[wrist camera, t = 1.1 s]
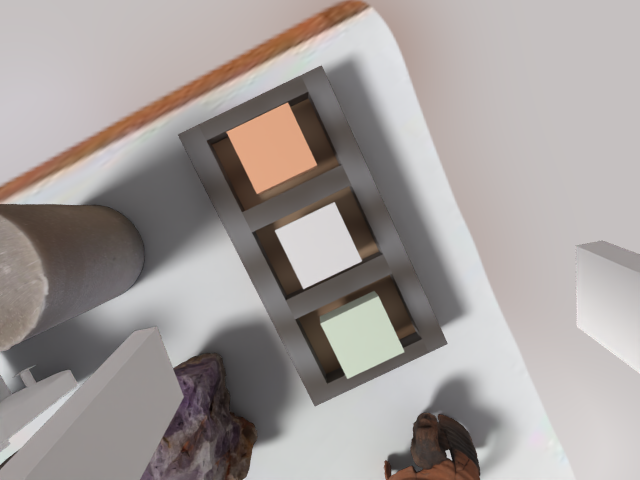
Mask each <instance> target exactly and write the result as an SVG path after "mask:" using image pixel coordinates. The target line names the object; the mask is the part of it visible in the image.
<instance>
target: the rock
mask: <svg viewBox="0 0 640 480" xmlns="http://www.w3.org/2000/svg"><path fill="white" fill-rule="evenodd" d="M173 370H174V372H175V375H176V378H177V380H178V383H179V385H180V388H181V391H182V393H183V396H184V398H183V399H182V401H181V403H180V405H179V407H178V409H177V411H176V413H175V415H174V416H173V418H172V420H171V422H170V424H169V426H168V428H167V430H166V431H165V433H164V435H163V437H162V439H161V441H160V443H159V445H158V447H157V448H156V450H155V452H154V454H153V456H152V458H151V460H150V462H149V463H148V465H147V467H146V469H145V471H144V473H143V475H142V477H141V479H140V480H243V479H244V478H245V477H246V476H247V474H248V471H249V467H250V460H251V455H252V448H253V444H254V443H255V442H256V440H257V430H256V429H255V426H254V424H253V423H250V422H248V421H247V420H246V419H244V418H243V417H237V416H235V414H234V413H232V412H229V403H230V394H229V392H228V390H227V388H226V387H225V377H226V372H225V368H224V366H223V361H222V358H221V356H220V355H218V354H217V353H213V354H210V353H205V354H202V355H200V356H194V357H192V358H190V359H189V360H187V361H186V362H183V363H181V364H180V365H178V366H176V367H175V368H173Z"/></svg>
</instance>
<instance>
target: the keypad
mask: <svg viewBox="0 0 640 480" xmlns="http://www.w3.org/2000/svg"><path fill="white" fill-rule="evenodd" d="M286 103H288V104H289V106H290V108H291V110H292V112H293V114H294V116H295V119H296V121H297V123H298V125H299V127H300V129H301V131H302V134H303V136H304V138H305V140H306V142H307V144H308V146H309V149H310V151H311V153H312V155H313V157H314V159H315V161H316V164H317V168H315V169H313V170H311V171H309V172H307V173H305V174H303V175H300V176H298V177H296V178H294V179H292V180H290V181H288V182H286V183H284V184H282V185H280V186H277V187H275V188H273V189H271V190H269V191H267V192H265V193H263V194H261V195H259V194H257V193H256V191H255V189H254V187H253V185H252V183H251V181H250V179H249V177H248V175H247V173H246V171H245V169H244V167H243V165H242V163H241V161H240V159H239V157H238V155H237V153H236V150H235V148H234V146H233V144H232V142H231V140H230V138H229V136H228V134H227V131H229V130H232V129H234V128H236V127H238V126H240V125H242V124H244V123H246V122H248V121H250V120H252V119H254V118H256V117H259V116H261V115H263V114H265V113H267V112H269V111H271V110H273V109H275V108H277V107H279V106H281V105H283V104H286ZM178 136H179V138H180V140H181V142H182V144H183V146H184V148H185V150H186V152H187V154H188V156H189V158H190V160H191V162H192V164H193V166H194V168H195V170H196V172H197V174H198V176H199V178H200V180H201V182H202V184H203V186H204V188H205V190H206V192H207V194H208V196H209V198H210V200H211V201H212V203H213V205H214V207H215V209H216V211H217V213H218V215H219V217H220V219H221V221H222V223H223V225H224V227H225V229H226V231H227V233H228V235H229V237H230V239H231V241H232V243H233V245H234V247H235V249H236V251H237V253H238V255H239V257H240V259H241V261H242V263H243V265H244V267H245V269H246V271H247V273H248V275H249V277H250V279H251V281H252V283H253V285H254V287H255V289H256V291H257V293H258V295H259V297H260V299H261V301H262V303H263V305H264V307H265V309H266V310H267V312H268V314H269V316H270V318H271V320H272V322H273V324H274V326H275V328H276V330H277V332H278V334H279V336H280V338H281V340H282V342H283V344H284V346H285V348H286V350H287V352H288V354H289V356H290V358H291V360H292V362H293V364H294V366H295V368H296V370H297V372H298V374H299V376H300V378H301V380H302V382H303V384H304V386H305V388H306V390H307V392H308V394H309V396H310V398H311V400H312V402H313V404H314V406H317V405H319V404H321V403H323V402H325V401H327V400H330V399H332V398H334V397H336V396H338V395H340V394H342V393H344V392H347V391H349V390H351V389H353V388H355V387H357V386H359V385H361V384H363V383H366V382H368V381H370V380H372V379H374V378H376V377H378V376H380V375H383V374H385V373H387V372H389V371H391V370H393V369H395V368H397V367H400V366H402V365H404V364H406V363H408V362H410V361H412V360H414V359H417V358H419V357H421V356H423V355H425V354H427V353H429V352H431V351H434V350H436V349H438V348H440V347H442V346H444V345H446V344H448V343H447V341H446V339H445V337H444V334H443V332H442V330H441V328H440V326H439V323H438V321H437V319H436V317H435V315H434V312H433V310H432V308H431V306H430V304H429V301H428V299H427V297H426V295H425V293H424V290H423V288H422V286H421V284H420V281H419V279H418V277H417V275H416V273H415V270H414V268H413V266H412V264H411V262H410V259H409V257H408V255H407V253H406V251H405V248H404V246H403V244H402V242H401V240H400V237H399V235H398V233H397V231H396V228H395V226H394V224H393V222H392V220H391V217H390V215H389V213H388V211H387V209H386V206H385V204H384V202H383V200H382V198H381V195H380V193H379V191H378V189H377V187H376V184H375V182H374V180H373V178H372V175H371V173H370V171H369V169H368V167H367V164H366V162H365V160H364V158H363V156H362V153H361V151H360V149H359V147H358V145H357V142H356V140H355V138H354V136H353V134H352V131H351V129H350V127H349V125H348V122H347V120H346V118H345V116H344V114H343V111H342V109H341V107H340V105H339V103H338V100H337V98H336V96H335V94H334V92H333V89H332V87H331V85H330V83H329V81H328V78H327V76H326V74H325V72H324V69H323V67H322V65H321V66H319V67H317V68H315V69H313V70H311V71H309V72H307V73H305V74H303V75H301V76H299V77H296V78H294V79H292V80H290V81H288V82H286V83H284V84H282V85H280V86H278V87H276V88H274V89H272V90H270V91H267V92H265V93H263V94H261V95H259V96H257V97H255V98H253V99H251V100H249V101H247V102H245V103H243V104H240V105H238V106H236V107H234V108H232V109H230V110H228V111H226V112H224V113H222V114H220V115H218V116H216V117H213V118H211V119H209V120H207V121H205V122H203V123H201V124H199V125H197V126H195V127H193V128H191V129H189V130H187V131H184V132H182V133H180V134H178ZM333 202H335V204H336V206H337V208H338V211H339V213H340V215H341V217H342V219H343V221H344V223H345V226H346V228H347V230H348V232H349V234H350V236H351V238H352V241H353V243H354V245H355V247H356V249H357V251H358V253H359V256H360V258H361V260H362V262H360V263H357V264H355V265H353V266H351V267H349V268H347V269H345V270H343V271H341V272H338V273H336V274H334V275H332V276H330V277H328V278H326V279H324V280H322V281H319V282H317V283H315V284H313V285H311V286H309V287H307V288H305V289H303V287H302V285H301V283H300V281H299V279H298V277H297V275H296V273H295V271H294V269H293V267H292V265H291V263H290V261H289V259H288V257H287V255H286V253H285V250H284V248H283V246H282V244H281V242H280V240H279V238H278V236H277V234H276V232H275V230H276V229H278V228H280V227H282V226H284V225H287V224H289V223H291V222H293V221H295V220H297V219H299V218H301V217H303V216H305V215H308V214H310V213H312V212H314V211H316V210H318V209H320V208H322V207H324V206H326V205H328V204H331V203H333ZM373 291H375V292H376V294H377V295H378V296H379V298H380V300H381V303H382V305H383V307H384V309H385V311H386V313H387V315H388V318H389V320H390V322H391V324H392V326H393V328H394V330H395V332H396V335H397V337H398V339H399V341H400V343H401V345H402V347H403V350H404V353H401V354H399V355H397V356H395V357H393V358H391V359H389V360H387V361H384V362H382V363H380V364H378V365H376V366H374V367H372V368H370V369H368V370H365V371H363V372H361V373H359V374H357V375H355V376H353V377H351V378H348V379H347V377H346V375H345V373H344V371H343V369H342V367H341V365H340V363H339V361H338V359H337V357H336V355H335V353H334V351H333V348H332V346H331V344H330V342H329V340H328V338H327V336H326V334H325V332H324V330H323V328H322V326H321V324H320V316H322V315H324V314H326V313H328V312H330V311H333V310H335V309H337V308H339V307H341V306H343V305H345V304H347V303H349V302H352V301H354V300H356V299H358V298H360V297H362V296H364V295H366V294H368V293H371V292H373Z"/></svg>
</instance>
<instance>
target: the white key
mask: <svg viewBox="0 0 640 480" xmlns="http://www.w3.org/2000/svg"><path fill="white" fill-rule="evenodd" d="M275 232H276V234H277V236H278V238H279V240H280V242H281V244H282V246H283V248H284V250H285V253H286V255H287V257H288V259H289V261H290V263H291V265H292V267H293V269H294V271H295V273H296V275H297V277H298V279H299V281H300V283H301V285H302V287H303V289H305V288H307V287H309V286H311V285H313V284H315V283H317V282H319V281H322V280H324V279H326V278H328V277H330V276H332V275H334V274H336V273H338V272H341V271H343V270H345V269H347V268H349V267H351V266H353V265H355V264H357V263H360V262H362V260H361V258H360V256H359V253H358V251H357V249H356V247H355V245H354V243H353V241H352V238H351V236H350V234H349V232H348V230H347V228H346V226H345V223H344V221H343V219H342V217H341V215H340V213H339V211H338V208H337V206H336V204H335V202H333V203H331V204H328V205H326V206H324V207H322V208H320V209H318V210H316V211H314V212H312V213H310V214H308V215H305V216H303V217H301V218H299V219H297V220H295V221H293V222H291V223H289V224H287V225H284V226H282V227H280V228H278V229H276V230H275Z"/></svg>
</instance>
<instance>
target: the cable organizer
mask: <svg viewBox="0 0 640 480" xmlns="http://www.w3.org/2000/svg"><path fill="white" fill-rule="evenodd" d="M35 366H36V365H35ZM32 367H34V366H32ZM32 367H29V368H27V369H24V370H22V371H21V372H20V373H18V374H17V375H20V377H21V378H22V380H23V382H24V384H25V385H26V388H24V389H22V390H20V391H18V392H15V393H13V394H11V392H10V390H9V389H8V387H7V385H6V383H5V382H4V380H3V378H2V377H1V375H0V452H1V451H2V450H4V449H5V448H6V447H8V446H9V445H10V442H9V440H8V439H9V438H10V437H12V436H13V435H14V434H16V433H17V432H18V431H20V430H21V429H22V428H23V427H25V426H26V425H27V424H29V423H30V422H31V421H32V420H34V419H35V418H36V417H38V416H39V415H40V414H42V413H43V412H44V411H45V410H47V409H48V408H49V407H51V406H52V405H53V404H55V403H56V402H57V401H58V400H60V399H61V398H62V397H64V396H65V395H66V394H67V393H69V392H70V391H71V390H73V389H74V388H75V387H76V386H77V384H78V383H77V382H76V380H75V378H74V376H73V374H72V373H71V371H70V370H65V371H62V372H59V373H57V374H54V375H52V376H50V377H48V378H45V379H43V380H41V381H39V382H37V383H36V381H35V379H34V378H33V376H32V374H31V372H30V371H29V369H30V368H32ZM17 375H15V376H17ZM15 376H14V377H15Z"/></svg>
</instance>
